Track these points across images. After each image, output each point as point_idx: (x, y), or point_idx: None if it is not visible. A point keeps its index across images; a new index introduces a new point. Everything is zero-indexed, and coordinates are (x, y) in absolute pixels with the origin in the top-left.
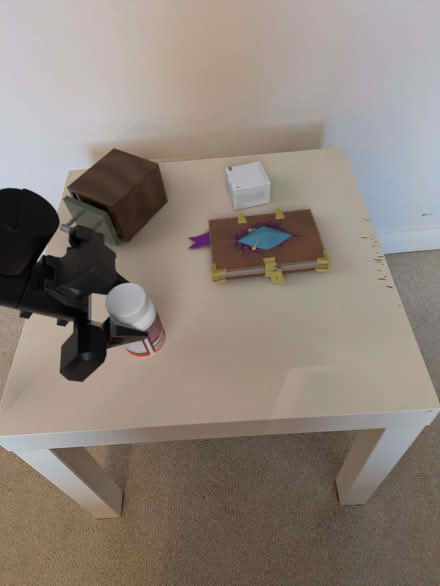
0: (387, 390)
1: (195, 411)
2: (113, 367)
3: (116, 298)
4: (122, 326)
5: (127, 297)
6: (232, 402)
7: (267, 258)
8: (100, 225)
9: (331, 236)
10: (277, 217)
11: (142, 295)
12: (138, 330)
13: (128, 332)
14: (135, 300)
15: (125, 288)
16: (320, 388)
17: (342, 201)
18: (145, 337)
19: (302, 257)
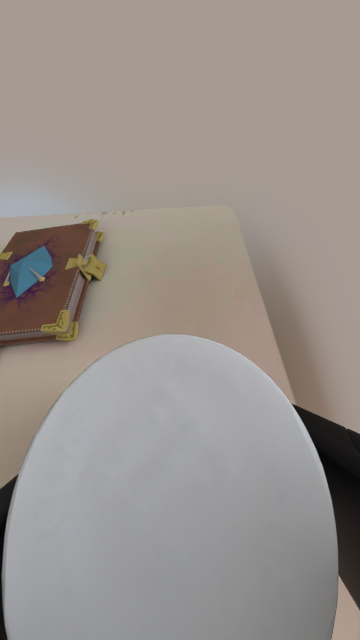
0: (223, 220)
1: (271, 365)
2: None
3: (150, 575)
4: (357, 470)
5: (153, 450)
6: (251, 322)
7: (67, 264)
8: None
9: None
10: (6, 257)
11: (152, 349)
12: None
13: (341, 433)
14: (184, 385)
15: (68, 479)
16: (225, 253)
17: (23, 224)
18: None
19: (81, 238)
